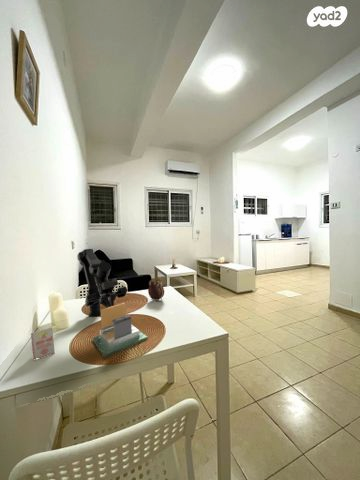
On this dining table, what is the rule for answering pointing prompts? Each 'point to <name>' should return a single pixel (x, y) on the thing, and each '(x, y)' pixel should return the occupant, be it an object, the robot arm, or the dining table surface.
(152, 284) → the brown rounded piece
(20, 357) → the dining table surface
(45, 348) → the pink printed box
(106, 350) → the grey and green stand
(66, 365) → the dining table surface
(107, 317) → the tan square pad
